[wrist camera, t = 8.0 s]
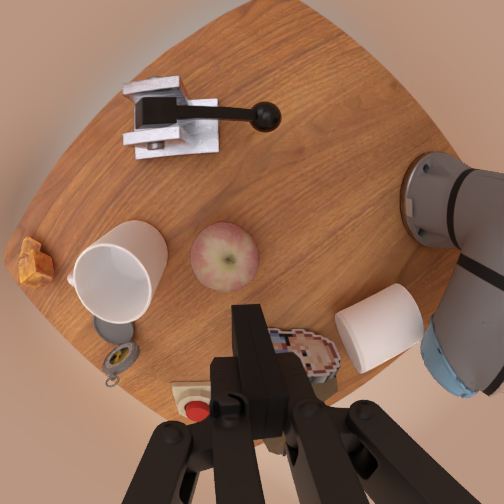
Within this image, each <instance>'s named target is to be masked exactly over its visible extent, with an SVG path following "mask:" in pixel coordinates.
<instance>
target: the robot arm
mask: <svg viewBox="0 0 504 504" xmlns="http://www.w3.org/2000/svg"><path fill="white" fill-rule="evenodd" d="M400 210H401V216H402V220H403V223H404V226H405V228H406V230H407V232H408V233H409V235H410V236H411V237H412V238H413V239H414V240H415V241H417V242H418V243H420V244H422V245H424V246H426V247H430V248H458V249H460V250H462V251H461V253H460V256H459V259H458V261H457V263H456V266H455V269H454V271H453V274H452V276H451V279H450V281H449V283H448V286H447V288H446V290H445V293H444V295H443V297H442V299H441V301H440V304H439V306H438V308H437V310H436V312H435V313H434V314H433V315H432V316H431V318H430V323H429V326H428V328H427V330H426V332H425V334H424V336H423V338H422V341H421V347H420V348H421V355H422V358H423V360H424V364H425V366H426V367H427V369H428V371H429V372H430V373H431V375H432V376H433V378H434V379H435V380H436V381H437V382H438V383H439V384H440V385H441V386H442V387H443V388H444V389H446V390H447V391H448V392H450V393H451V394H453V395H456V396H461V397H462V398H470V397H472V396H473V395H475V394H477V392H478V391H479V390H480V391H482V392H483V393H485V394H486V395H488V396H489V397H492V396H495V395H497V394H500V393H504V174H503V173H498V172H492V171H486V170H480V169H474V168H471V167H469V166H468V165H466V164H465V163H463V162H461V161H460V160H458V159H456V158H455V157H453V156H451V155H449V154H447V153H444V152H427V153H424V154H422V155H420V156H419V157H418V158H416V159H415V160H414V161H413V163H412V164H411V165H410V167H409V168H408V170H407V172H406V174H405V177H404V180H403V183H402V187H401V194H400ZM231 308H232V349H233V357H215V358H214V359H213V361H212V363H211V364H210V385H211V399H210V403H209V410H210V413H209V415H208V416H207V417H206V418H205V419H204V420H202V421H200V422H197V423H194V424H190V425H185V424H184V423H182V422H179V421H167V422H163V423H161V424H160V425H158V426H157V427H156V429H155V430H154V432H153V434H152V436H151V438H150V441H149V443H148V445H147V448H146V450H145V452H144V454H143V456H142V458H141V461H140V463H139V465H138V468H137V470H136V472H135V474H134V477H133V479H132V481H131V483H130V486H129V488H128V490H127V492H126V495H125V497H124V499H123V502H122V504H191V502H192V498H193V495H194V492H195V488H196V485H197V481H198V477H199V473H200V471H203V470H207V469H210V468H213V467H214V481H215V493H216V504H265V500H264V495H263V490H262V484H261V480H260V475H259V470H258V464H257V459H256V453H255V448H254V442H253V440H257V439H267V438H275V437H282V434H283V431H284V435H285V439H286V440H285V444H284V449H283V456H285V455H286V454H287V458H288V462H289V465H290V469H291V473H292V476H293V480H294V483H295V487H296V491H297V495H298V498H299V502H300V504H369V501H368V499H367V497H366V494H365V492H366V493H367V494H368V496H369V497H370V498H371V499H372V500H373V501H374V503H375V504H481V503H480V502H479V501H478V500H477V499H476V498H474V496H472V495H471V494H470V493H469V492H468V491H467V490H466V489H465V488H464V487H463V486H462V485H461V484H459V483H458V482H457V481H456V480H455V479H454V478H453V477H452V476H451V475H450V474H449V473H448V472H447V471H446V470H445V469H444V468H442V467H441V466H440V465H439V464H438V463H437V462H436V461H435V460H434V459H433V458H432V457H431V456H430V455H429V454H428V453H426V451H425V450H423V448H421V447H420V446H419V445H418V444H417V443H416V442H415V441H414V440H413V439H412V438H411V437H410V436H409V435H408V434H407V433H406V432H405V431H404V430H403V429H402V428H401V427H400V426H399V425H398V424H397V423H396V422H395V421H394V420H393V419H392V418H391V417H390V416H389V415H388V414H387V413H386V412H385V411H383V410H382V408H381V407H380V406H379V405H377V404H376V403H374V402H372V401H369V400H359V401H356V402H354V403H353V404H352V405H351V406H350V408H335V407H330V406H327V405H325V403H324V402H323V401H321V400H320V399H318V398H317V396H316V394H315V392H314V390H313V387H312V385H311V383H310V380H309V378H308V376H307V374H306V371H305V369H304V367H303V364H302V362H301V359H300V358H299V357H298V356H297V355H296V354H295V353H294V352H283V353H276V352H275V349H274V346H273V343H272V340H271V337H270V334H269V331H268V328H267V325H266V321H265V318H264V315H263V312H262V309H261V306H260V304H247V305H231ZM363 489H364V490H363ZM364 491H365V492H364Z"/></svg>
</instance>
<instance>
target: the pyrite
mask: <svg viewBox="0 0 504 504" xmlns="http://www.w3.org/2000/svg"><path fill="white" fill-rule="evenodd" d="M41 245H42V244H41V243H39V242H37V241H35V240H33V239H31V238H30V237H26V238H25V239H24V240H23V243H22V247H21V250H20V254H19V257H20V258H22V260H21V261H19V263H18V264H19V275H20V282H21V284H22V285H25V286H28V287H31V288H34V289H37V290H41V289H42V288H44V287H45V286H46V285H47V284H49V283H50V282H51V281H53V277H54V275H55V274H54V269H53V263H52V258H51V257H50V256H48V255H46V254H44V253H42V252H40V248H41Z"/></svg>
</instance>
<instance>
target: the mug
mask: <svg viewBox="0 0 504 504" xmlns="http://www.w3.org/2000/svg"><path fill="white" fill-rule="evenodd" d="M167 259H168V251H167V246H166V243H165V240H164V238H163V236H162V235H161V234H160V232H159V231H158V230H157V229H156V228H155V227H153V226H152V225H150V224H148V223H146V222H143V221H138V220H132V221H126V222H123V223H121V224H119V225H117V226H116V227H114V228H113V229H112V230H110V231H109V232H108V233H106V234H105V235H104V236H102V237H101V238H100V239H98V240H97V241H96V242H94V243H93V244H92V245H90V246H89V247H88V248H86V249H85V250H84V251H83V252H82V253H81V254H80V255H79V257H78V259H77V261H76V263H75V266H74V271H72V272H71V273H70V274H69V275H68V277H67V280H68V282H69V284H70V285H72V286H73V287H75V290H76V292H77V295H78V297H79V299H80V300H81V302H82V303H83V305H84V306H85V307H86V308H87V309H88V310H89V311H90V312H91V313H92V314H93V315H95V316H96V317H98V318H100V319H102V320H104V321H107V322H110V323H116V324H124V323H129V322H132V321H135V320H137V319H138V318H140V317H141V316H142V315H143V314H144V313H145V312H146V310H147V309H148V307H149V305H150V302H151V300H152V298H153V295H154V293H155V290H156V288H157V286H158V284H159V281H160V279H161V277H162V274H163V272H164V270H165V267H166V264H167Z"/></svg>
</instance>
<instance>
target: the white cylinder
mask: <svg viewBox="0 0 504 504" xmlns="http://www.w3.org/2000/svg"><path fill="white" fill-rule="evenodd" d="M335 322H336V326H337V329H338V332H339V335H340V338H341V340H342V343H343V345H344V347H345V350H346V352H347V354H348V356H349V358H350V360H351V362H352V364H353V365H354V367H355V368H356V370H357V371H358V372H359V373H365V372H367V371H368V370H370V369H372V368H374V367H376V366H378V365H380V364H382V363H384V362H386V361H387V360H389V359H391V358H393V357H395V356H396V355H398V354H400V353H402V352H403V351H405V350H407V349H408V348H410V347H412V346H413V345H415V344H417V343H418V342H420V341H421V340H422V338H423V336H424V324H423V320H422V316H421V313H420V311H419V308H418V306H417V304H416V302H415V300H414V299H413V297H412V296H411V294H410V293H409V292H408V291H407V290H406V289H405V288H404V287H403V286H402V285H400V284H396V283H395V284H393V285H391V286H389V287H387V288H385V289H383V290H382V291H380V292H378V293H376V294H374V295H372V296H370V297H368V298H366V299H364V300H362V301H360V302H358V303H356V304H354V305H352V306H350V307H348V308H346V309H343V310H341V311H339V312H337V313H336V314H335Z"/></svg>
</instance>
